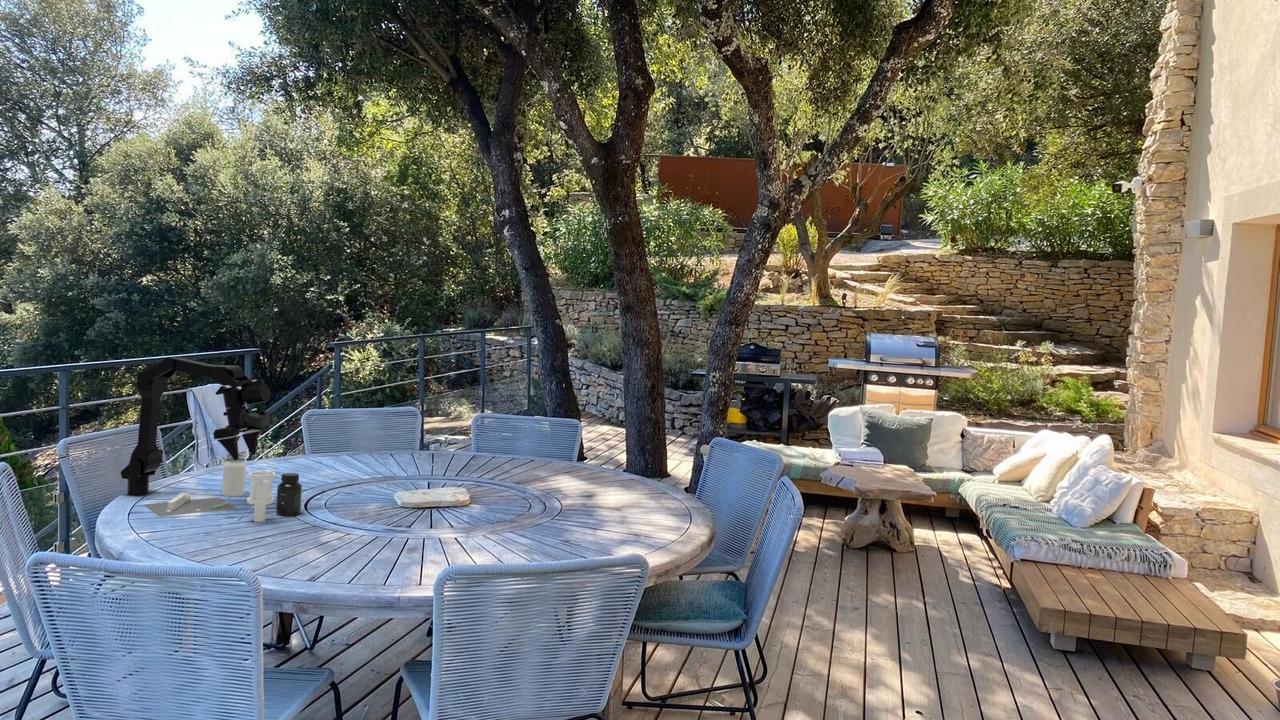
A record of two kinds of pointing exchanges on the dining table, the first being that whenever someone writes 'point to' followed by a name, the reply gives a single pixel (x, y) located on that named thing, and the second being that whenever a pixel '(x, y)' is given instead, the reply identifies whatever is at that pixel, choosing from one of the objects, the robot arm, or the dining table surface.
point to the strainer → (260, 492)
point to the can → (234, 477)
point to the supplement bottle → (289, 495)
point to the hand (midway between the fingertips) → (245, 457)
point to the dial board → (191, 507)
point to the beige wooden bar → (178, 501)
